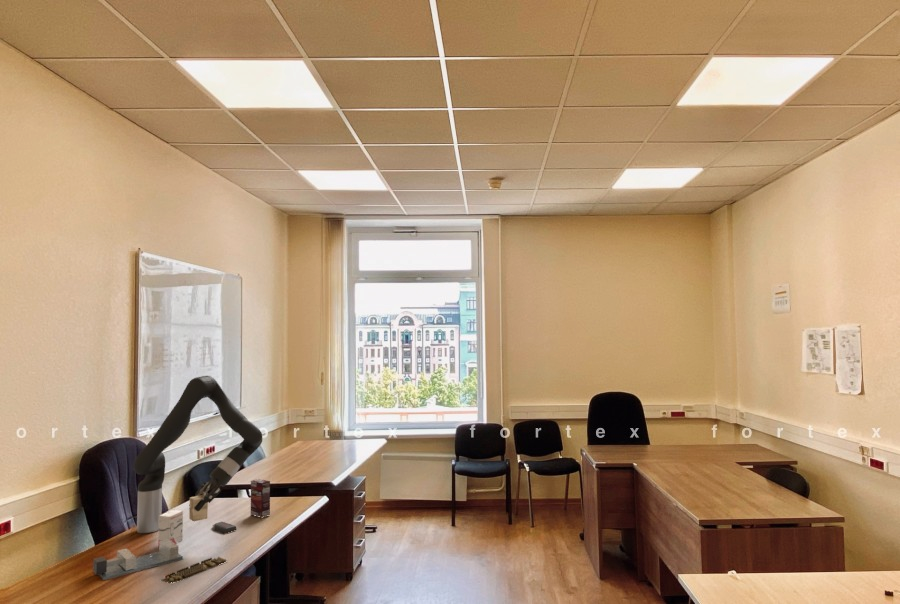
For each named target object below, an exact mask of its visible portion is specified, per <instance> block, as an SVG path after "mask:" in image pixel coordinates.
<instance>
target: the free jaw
mask: <svg viewBox="0 0 900 604" xmlns="http://www.w3.org/2000/svg"><path fill="white" fill-rule="evenodd" d="M92 562H93V563H92V571H93V573H94V574H95V576H97V575H98V576H99V574H102V573H105V572H107V567H110V566H114V565H118V564H120V565H121V566H122V567H123V568H124V569H125V570H130V569H134V568H135V567H136V555H134V554H133V552H131V551H130V550H129V548H122V549H118V550H116V557H115V558H111V559H110V558H109V559H106V558H105V556H99V557H95V558H93V559H92Z"/></svg>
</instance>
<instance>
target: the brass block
mask: <svg viewBox="0 0 900 604" xmlns="http://www.w3.org/2000/svg"><path fill="white" fill-rule="evenodd" d="M203 496H204V495H200V496H196V495H195V496H191V497H189V504H190V506H189V510H188V511H189V512H188V514H189V516H188V517H189V518H188V519H189V520H191V521H192V522H197V521H202V520H207V519H208V514H209V513H208V509H209V508H208V507H209V506H208V503H209V502H208V503H206V504H205V505H204V506H203V507H202V508H201V509H200V511H196V510H195V509H194V507H195V506H196V505H197V504H198V503H199V501H200V500H202V498H203Z"/></svg>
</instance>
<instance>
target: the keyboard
mask: <svg viewBox="0 0 900 604" xmlns="http://www.w3.org/2000/svg"><path fill="white" fill-rule="evenodd" d="M226 561H227V559H226V558H223V557H220V556H217V557H216V558H215V557H214V558H213V557H209V558H206V559H203V560H201V561H200V562H196V563H194V564H191V565H190V566H186V567H183V568H181V569H178V570H176V572H175V571H172V572H170V573H168V574H165V575H164V578H163V579H161V580H160V581H161V582H163V583H167V582H168V583H167V584H170V583H171V582H172V583H173V582H176V583H178V582H177V581H179V582H181V581H184V580H186V579H188V577H189V578H190V577H194V576H196V575H198V574H202V573H204V572H206V571H209V570H211V569H214V568H215V567H219V566H220V565H219V564H221V563H224V562H226ZM226 563H227V562H226ZM224 564H225V563H224ZM218 565H219V566H218ZM221 565H222V564H221ZM183 579H184V580H183ZM180 580H181V581H180Z"/></svg>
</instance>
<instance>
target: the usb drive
mask: <svg viewBox="0 0 900 604" xmlns="http://www.w3.org/2000/svg"><path fill="white" fill-rule="evenodd" d="M212 529H213V530H214V531H216V532H218V531H220V532H219V533H221V532H222V533H221V534H224V533H227V534H229V533H228V532H230V533H232V532H231V531H233V532H235V531H234V530H237V526H236V525H234V524H232V523H228V522H226V521H218V522H215V523H212ZM237 531H238V530H237Z"/></svg>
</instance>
